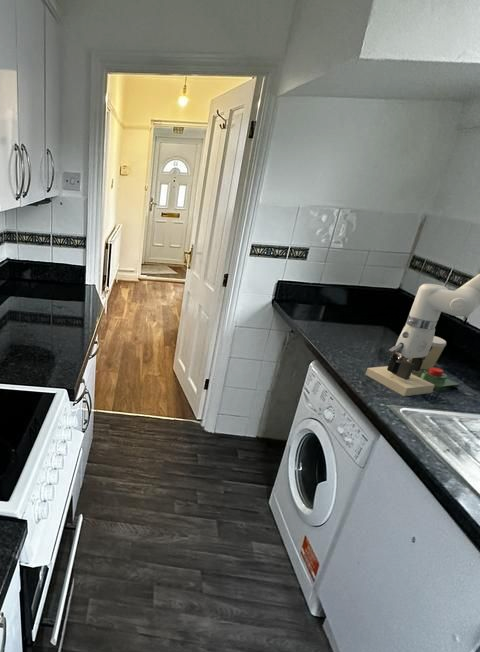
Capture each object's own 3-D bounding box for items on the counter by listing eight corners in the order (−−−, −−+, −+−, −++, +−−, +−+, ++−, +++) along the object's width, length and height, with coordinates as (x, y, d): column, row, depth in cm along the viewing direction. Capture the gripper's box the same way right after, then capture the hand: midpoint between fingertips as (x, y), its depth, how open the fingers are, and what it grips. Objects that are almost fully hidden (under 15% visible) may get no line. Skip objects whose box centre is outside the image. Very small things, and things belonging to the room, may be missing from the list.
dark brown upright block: (409, 379, 138) (415, 363, 136) (405, 379, 138) (411, 364, 135) (395, 372, 143) (401, 357, 140) (391, 372, 142) (397, 357, 140)
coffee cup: (398, 360, 160) (410, 332, 154) (424, 363, 159) (437, 335, 153) (411, 371, 151) (424, 342, 146) (439, 375, 150) (453, 345, 145)
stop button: (444, 376, 141) (446, 371, 140) (436, 376, 140) (438, 372, 139) (433, 371, 144) (435, 366, 143) (425, 372, 143) (427, 367, 142)
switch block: (456, 389, 140) (461, 379, 138) (437, 392, 137) (441, 381, 136) (425, 375, 149) (429, 365, 148) (406, 377, 147) (410, 367, 145)
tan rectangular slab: (431, 393, 136) (435, 384, 135) (404, 396, 133) (407, 387, 132) (390, 372, 150) (393, 365, 148) (364, 375, 146) (367, 367, 145)
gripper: (411, 328, 127) (393, 378, 134) (452, 325, 132) (432, 373, 138) (389, 320, 133) (373, 368, 140) (429, 318, 138) (411, 364, 145)
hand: (402, 370), depth 139 cm, fingers open, 9 cm apart
